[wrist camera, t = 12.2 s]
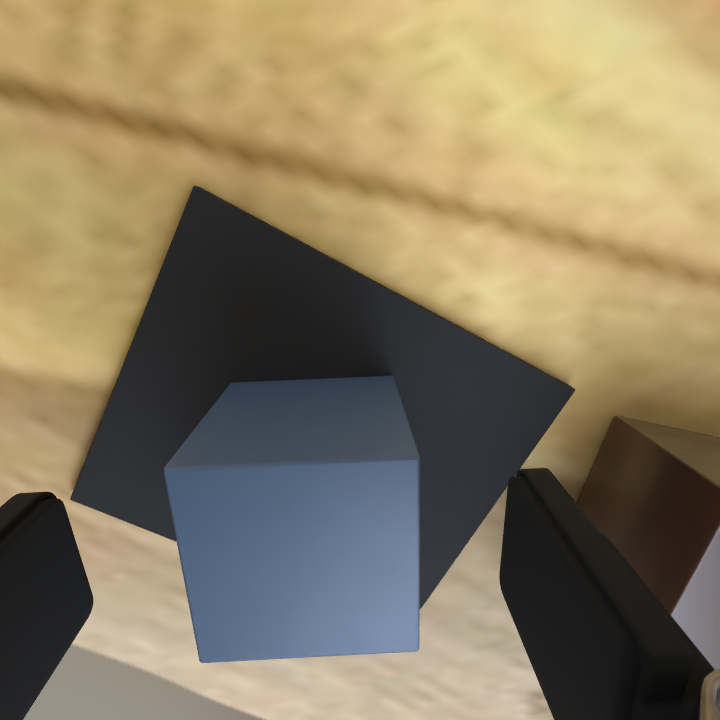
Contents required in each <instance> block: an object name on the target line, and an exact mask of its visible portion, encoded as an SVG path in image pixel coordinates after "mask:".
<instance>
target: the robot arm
mask: <svg viewBox="0 0 720 720" xmlns="http://www.w3.org/2000/svg"><path fill="white" fill-rule="evenodd" d="M500 585H501V590H502V593H503V596H504V599H505V601H506V603H507V606H508V608H509V611H510V613H511V616H512V618H513V620H514V623H515V625H516V628H517V630H518V633H519V635H520V637H521V640H522V642H523V645H524V647H525V650H526V652H527V655H528V657H529V659H530V662H531V664H532V667H533V669H534V672H535V674H536V676H537V679H538V681H539V684H540V686H541V689H542V691H543V693H544V696H545V698H546V701H547V703H548V706H549V708H550V710H551V713H552V715H553V718H554V720H720V669H719V670H715V669H714V668H713V667H712V665H711V664H710V663H709V662H708V660H707V659H706V658H705V657H704V656H703V654H702V653H701V652H700V651H699V649H698V648H697V647H696V646H695V644H694V643H693V642H692V641H691V639H690V638H689V637H688V636H687V635H686V633H685V632H684V631H683V630H682V628H681V627H680V626H679V625H678V623H677V622H676V621H675V620H674V618H673V617H672V616H671V615H670V614H669V612H668V611H667V610H666V609H665V607H664V606H663V605H662V604H661V602H660V601H659V600H658V599H657V597H656V596H655V595H654V594H653V593H652V591H651V590H650V589H649V588H648V586H647V585H646V584H645V583H644V581H643V580H642V579H641V578H640V576H639V575H638V574H637V573H636V572H635V570H634V569H633V568H632V567H631V565H630V564H629V563H628V562H627V560H626V559H625V558H624V557H623V555H622V554H621V553H620V552H619V550H618V549H617V548H616V547H615V546H614V544H613V543H612V542H611V541H610V540H609V539H608V538H607V537H606V536H605V535H604V534H602V533H600V532H598V530H597V529H596V528H595V526H594V525H593V524H592V523H591V521H590V520H589V519H588V518H587V516H586V515H585V514H584V513H583V511H582V510H581V509H580V508H579V506H578V505H577V504H576V503H575V501H574V500H573V499H572V498H571V496H570V495H569V494H568V492H567V491H566V490H565V489H564V487H563V486H562V485H561V484H560V482H559V481H558V480H557V479H556V477H555V476H554V475H553V474H552V472H551V471H550V470H549V469H547V468H537V469H520V470H518V472H517V474H516V477H510V478H509V481H508V490H507V500H506V511H505V522H504V533H503V544H502V554H501V565H500ZM92 606H93V595H92V592H91V588H90V585H89V582H88V579H87V576H86V573H85V569H84V566H83V563H82V560H81V557H80V553H79V550H78V547H77V544H76V541H75V538H74V534H73V531H72V528H71V525H70V522H69V519H68V515H67V512H66V509H65V506H64V504H63V501H61V500H60V499H57V498H56V496H55V495H54V494H53V493H51V492H34V493H20V494H16V495H15V496H13V497H12V498H10V499H9V500H8V501H7V502H6V503H5V504H3V505H2V506H1V507H0V720H23V719H24V717H25V715H26V714H27V712H28V711H29V709H30V708H31V706H32V705H33V703H34V701H35V700H36V698H37V697H38V695H39V694H40V692H41V690H42V689H43V687H44V686H45V684H46V683H47V681H48V680H49V678H50V677H51V675H52V673H53V672H54V670H55V669H56V667H57V665H58V664H59V662H60V661H61V659H62V658H63V656H64V655H65V653H66V652H67V650H68V648H69V647H70V645H71V644H72V642H73V641H74V639H75V637H76V636H77V634H78V633H79V631H80V630H81V628H82V627H83V625H84V623H85V622H86V620H87V619H88V617H89V615H90V613H91V610H92Z"/></svg>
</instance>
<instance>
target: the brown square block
mask: <svg viewBox="0 0 720 720" xmlns="http://www.w3.org/2000/svg"><path fill="white" fill-rule="evenodd" d="M577 505H578V506H579V508H580V509H581V510H582V511H583V513H584V514H585V515H586V516H587V518H588V519H589V520H590V521H591V523H592V524H593V525H594V526H595V528H596V529H597V530H598V532H600V533H602V534H604V535H605V536H606V537H607V538H608V539H609V540H610V541H611V542H612V543H613V544H614V546H615V547H616V548H617V549H618V550H619V552H620V553H621V554H622V555H623V557H624V558H625V559H626V560H627V562H628V563H629V564H630V565H631V567H632V568H633V569H634V570H635V572H636V573H637V574H638V575H639V576H640V578H641V579H642V580H643V581H644V583H645V584H646V585H647V586H648V588H649V589H650V590H651V591H652V593H653V594H654V595H655V596H656V597H657V599H658V600H659V601H660V602H661V604H662V605H663V606H664V607H665V609H666V610H667V611H668V612H669V614H670V615H671V616H672V617H673V618H674V620H675V621H676V622H677V623H678V625H679V626H680V627H681V628H682V630H683V631H684V632H685V633H686V635H687V636H688V637H689V638H690V639H691V641H692V642H693V643H694V644H695V646H696V647H697V648H698V649H699V651H700V652H701V653H702V654H703V656H704V657H705V658H706V659H707V660H708V662H709V663H710V664H711V665H712V667H713V668H714V669H715V670H719V669H720V438H718V437H713V436H709V435H704V434H699V433H694V432H690V431H685V430H680V429H676V428H671V427H666V426H661V425H657V424H652V423H647V422H643V421H638V420H633V419H628V418H624V417H619V416H615V417H614V419H613V422H612V424H611V426H610V428H609V431H608V433H607V435H606V438H605V440H604V442H603V445H602V447H601V449H600V452H599V454H598V456H597V459H596V461H595V463H594V466H593V468H592V470H591V473H590V475H589V477H588V480H587V482H586V484H585V487H584V489H583V491H582V494H581V496H580V498H579V501H578V503H577Z"/></svg>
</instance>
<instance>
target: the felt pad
mask: <svg viewBox="0 0 720 720" xmlns="http://www.w3.org/2000/svg"><path fill="white" fill-rule="evenodd" d="M373 376H393V377H394V379H395V382H396V385H397V388H398V392H399V395H400V398H401V401H402V404H403V407H404V410H405V413H406V416H407V419H408V422H409V425H410V429H411V432H412V435H413V438H414V441H415V444H416V447H417V450H418V453H419V456H420V592H419V611H420V609H421V608H422V606H423V605H424V603H425V602H426V601H427V599H428V598H429V596H430V595H431V594H432V592H433V591H434V589H435V588H436V586H437V585H438V584H439V582H440V581H441V579H442V578H443V577H444V575H445V574H446V572H447V571H448V569H449V568H450V567H451V565H452V564H453V562H454V561H455V560H456V558H457V557H458V555H459V554H460V553H461V551H462V550H463V548H464V547H465V545H466V544H467V543H468V541H469V540H470V538H471V537H472V536H473V534H474V533H475V531H476V530H477V528H478V527H479V526H480V524H481V523H482V521H483V520H484V519H485V517H486V516H487V514H488V513H489V511H490V510H491V509H492V507H493V506H494V504H495V503H496V502H497V500H498V499H499V497H500V496H501V494H502V493H503V492H504V490H505V489H506V487H507V486H508V481H509V478H510V477H514V476H515V475H516V473H517V472H518V470H519V469H520V468H521V466H522V465H523V463H524V462H525V461H526V459H527V458H528V456H529V455H530V453H531V452H532V451H533V449H534V448H535V446H536V445H537V444H538V442H539V441H540V439H541V438H542V436H543V435H544V434H545V432H546V431H547V429H548V428H549V427H550V425H551V424H552V422H553V421H554V419H555V418H556V417H557V415H558V414H559V412H560V411H561V410H562V408H563V407H564V405H565V404H566V402H567V401H568V400H569V398H570V397H571V395H572V394H573V393H574V391H575V389H574V388H572V387H571V386H569V385H568V384H566V383H564V382H562V381H560V380H558V379H556V378H554V377H553V376H551V375H549V374H547V373H545V372H543V371H541V370H540V369H538V368H536V367H534V366H532V365H530V364H528V363H527V362H525V361H523V360H521V359H519V358H517V357H515V356H514V355H512V354H510V353H508V352H506V351H504V350H502V349H500V348H499V347H497V346H495V345H493V344H491V343H489V342H487V341H486V340H484V339H482V338H480V337H478V336H476V335H474V334H473V333H471V332H469V331H467V330H465V329H463V328H461V327H459V326H458V325H456V324H454V323H452V322H450V321H448V320H446V319H445V318H443V317H441V316H439V315H437V314H435V313H433V312H432V311H430V310H428V309H426V308H424V307H422V306H420V305H418V304H417V303H415V302H413V301H411V300H409V299H407V298H405V297H404V296H402V295H400V294H398V293H396V292H394V291H392V290H391V289H389V288H387V287H385V286H383V285H381V284H379V283H378V282H376V281H374V280H372V279H370V278H368V277H366V276H364V275H363V274H361V273H359V272H357V271H355V270H353V269H351V268H350V267H348V266H346V265H344V264H342V263H340V262H338V261H337V260H335V259H333V258H331V257H329V256H327V255H325V254H323V253H322V252H320V251H318V250H316V249H314V248H312V247H310V246H309V245H307V244H305V243H303V242H301V241H299V240H297V239H296V238H294V237H292V236H290V235H288V234H286V233H284V232H282V231H281V230H279V229H277V228H275V227H273V226H271V225H269V224H268V223H266V222H264V221H262V220H260V219H258V218H256V217H255V216H253V215H251V214H249V213H247V212H245V211H243V210H242V209H240V208H238V207H236V206H234V205H232V204H230V203H228V202H227V201H225V200H223V199H221V198H219V197H217V196H215V195H214V194H212V193H210V192H208V191H206V190H204V189H202V188H201V187H198V186H194V187H193V189H192V192H191V194H190V197H189V199H188V202H187V204H186V207H185V209H184V212H183V214H182V217H181V219H180V222H179V225H178V227H177V230H176V232H175V235H174V237H173V240H172V242H171V245H170V247H169V250H168V252H167V255H166V257H165V260H164V263H163V265H162V268H161V270H160V273H159V275H158V278H157V280H156V283H155V285H154V288H153V290H152V293H151V295H150V298H149V301H148V303H147V306H146V308H145V311H144V313H143V316H142V318H141V321H140V323H139V326H138V328H137V331H136V333H135V336H134V339H133V341H132V344H131V346H130V349H129V351H128V354H127V356H126V359H125V361H124V364H123V366H122V369H121V371H120V374H119V377H118V379H117V382H116V384H115V387H114V389H113V392H112V394H111V397H110V399H109V402H108V404H107V407H106V409H105V412H104V415H103V417H102V420H101V422H100V425H99V427H98V430H97V432H96V435H95V437H94V440H93V442H92V445H91V447H90V450H89V453H88V455H87V458H86V460H85V463H84V465H83V468H82V470H81V473H80V475H79V478H78V480H77V483H76V485H75V488H74V491H73V493H72V496H71V498H70V499H71V500H73V501H75V502H78V503H80V504H83V505H85V506H88V507H90V508H93V509H95V510H98V511H101V512H103V513H106V514H108V515H111V516H113V517H116V518H118V519H121V520H123V521H126V522H128V523H131V524H133V525H136V526H139V527H141V528H144V529H146V530H149V531H151V532H154V533H156V534H159V535H161V536H164V537H166V538H169V539H172V540H174V541H177V539H176V534H175V529H174V524H173V519H172V513H171V508H170V503H169V498H168V492H167V487H166V482H165V477H164V467H165V466H166V465H167V464H168V462H169V461H170V460H171V458H172V457H173V456H174V455H175V453H176V452H177V451H178V450H179V448H180V447H181V446H182V444H183V443H184V442H185V441H186V439H187V438H188V437H189V436H190V434H191V433H192V432H193V430H194V429H195V428H196V427H197V425H198V424H199V423H200V422H201V420H202V419H203V418H204V416H205V415H206V414H207V413H208V411H209V410H210V409H211V408H212V406H213V405H214V404H215V402H216V401H217V400H218V399H219V397H220V396H221V395H222V394H223V392H224V391H225V390H226V388H227V387H228V386H229V385H230V383H236V382H259V381H282V380H305V379H328V378H351V377H373Z"/></svg>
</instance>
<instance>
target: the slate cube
mask: <svg viewBox="0 0 720 720" xmlns="http://www.w3.org/2000/svg"><path fill="white" fill-rule="evenodd" d="M164 477H165V482H166V487H167V492H168V498H169V503H170V508H171V513H172V519H173V524H174V529H175V534H176V539H177V545H178V550H179V555H180V560H181V566H182V571H183V576H184V581H185V587H186V592H187V597H188V602H189V608H190V613H191V618H192V623H193V629H194V634H195V639H196V644H197V649H198V655H199V660H200V662H201V663H211V662H229V661H248V660H266V659H285V658H303V657H321V656H340V655H358V654H377V653H395V652H413V651H418V650H419V592H420V456H419V453H418V450H417V447H416V444H415V441H414V438H413V435H412V432H411V429H410V425H409V422H408V419H407V416H406V413H405V410H404V407H403V404H402V401H401V398H400V395H399V392H398V388H397V385H396V382H395V379H394V377H393V376H373V377H351V378H328V379H305V380H282V381H259V382H236V383H230V385H229V386H228V387H227V388H226V390H225V391H224V392H223V394H222V395H221V396H220V397H219V399H218V400H217V401H216V402H215V404H214V405H213V406H212V408H211V409H210V410H209V411H208V413H207V414H206V415H205V416H204V418H203V419H202V420H201V422H200V423H199V424H198V425H197V427H196V428H195V429H194V430H193V432H192V433H191V434H190V436H189V437H188V438H187V439H186V441H185V442H184V443H183V444H182V446H181V447H180V448H179V450H178V451H177V452H176V453H175V455H174V456H173V457H172V458H171V460H170V461H169V462H168V464H167V465H166V466H165V467H164Z"/></svg>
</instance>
